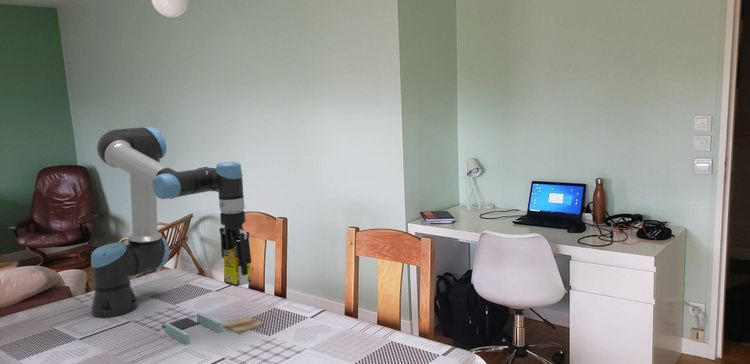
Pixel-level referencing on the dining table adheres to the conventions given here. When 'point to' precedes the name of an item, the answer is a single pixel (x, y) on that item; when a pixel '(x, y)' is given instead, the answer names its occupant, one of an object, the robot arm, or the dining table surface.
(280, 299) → the dining table surface
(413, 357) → the dining table surface
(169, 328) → the channel
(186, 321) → the mat
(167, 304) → the dining table surface
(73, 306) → the dining table surface
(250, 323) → the pad
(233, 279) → the supplement box
